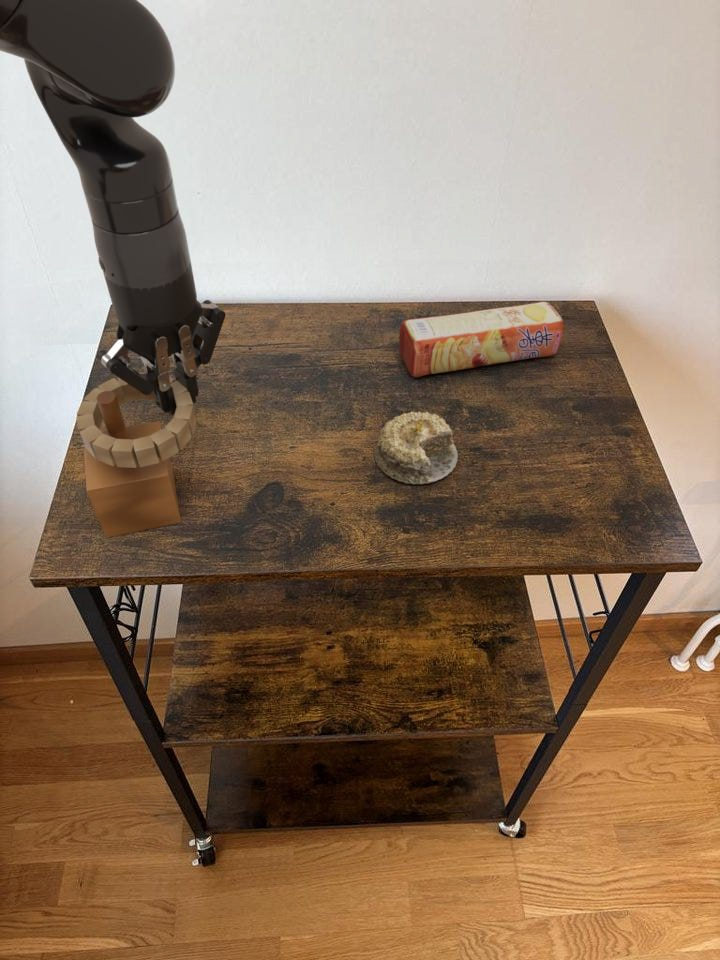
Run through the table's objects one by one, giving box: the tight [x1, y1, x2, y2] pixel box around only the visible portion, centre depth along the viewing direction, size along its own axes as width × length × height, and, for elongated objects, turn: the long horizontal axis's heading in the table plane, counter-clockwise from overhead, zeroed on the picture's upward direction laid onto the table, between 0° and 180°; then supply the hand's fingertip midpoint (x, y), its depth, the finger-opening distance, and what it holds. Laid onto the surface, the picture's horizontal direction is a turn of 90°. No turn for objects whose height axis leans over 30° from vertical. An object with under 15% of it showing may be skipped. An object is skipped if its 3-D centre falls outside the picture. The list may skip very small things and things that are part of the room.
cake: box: [373, 411, 459, 485], centre depth 85 cm, size 10×10×5 cm
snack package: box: [398, 301, 565, 378], centre depth 96 cm, size 21×7×7 cm, turn 105°
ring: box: [75, 371, 197, 468], centre depth 74 cm, size 11×11×2 cm
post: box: [83, 391, 182, 539], centre depth 75 cm, size 8×8×16 cm
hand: (179, 404), depth 77 cm, fingers closed on ring, 1 cm apart
